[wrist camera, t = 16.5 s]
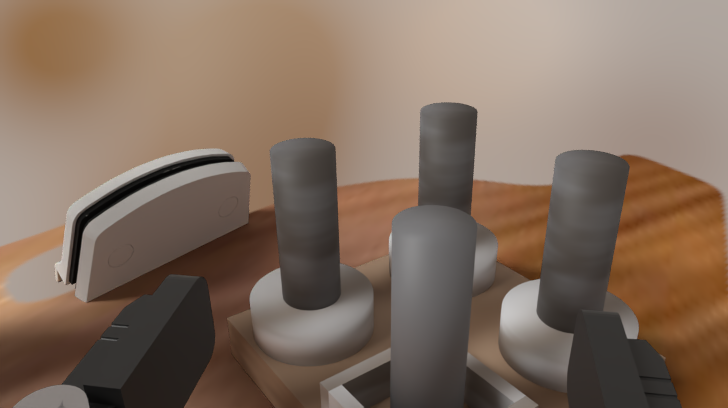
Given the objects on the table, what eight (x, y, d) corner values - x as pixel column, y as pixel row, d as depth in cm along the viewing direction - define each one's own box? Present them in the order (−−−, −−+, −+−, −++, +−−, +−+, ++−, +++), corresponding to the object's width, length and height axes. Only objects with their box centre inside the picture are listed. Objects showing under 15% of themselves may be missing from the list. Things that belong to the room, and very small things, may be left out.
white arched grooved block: (216, 206, 62) (227, 122, 56) (247, 234, 61) (263, 150, 54) (50, 281, 51) (42, 185, 45) (83, 318, 49) (80, 223, 43)
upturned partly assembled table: (232, 354, 42) (202, 144, 36) (444, 263, 52) (452, 85, 46) (413, 577, 28) (420, 302, 22) (656, 396, 38) (713, 168, 32)
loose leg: (375, 426, 33) (374, 220, 27) (428, 396, 34) (437, 198, 29) (421, 472, 30) (430, 254, 25) (476, 437, 32) (495, 227, 26)
